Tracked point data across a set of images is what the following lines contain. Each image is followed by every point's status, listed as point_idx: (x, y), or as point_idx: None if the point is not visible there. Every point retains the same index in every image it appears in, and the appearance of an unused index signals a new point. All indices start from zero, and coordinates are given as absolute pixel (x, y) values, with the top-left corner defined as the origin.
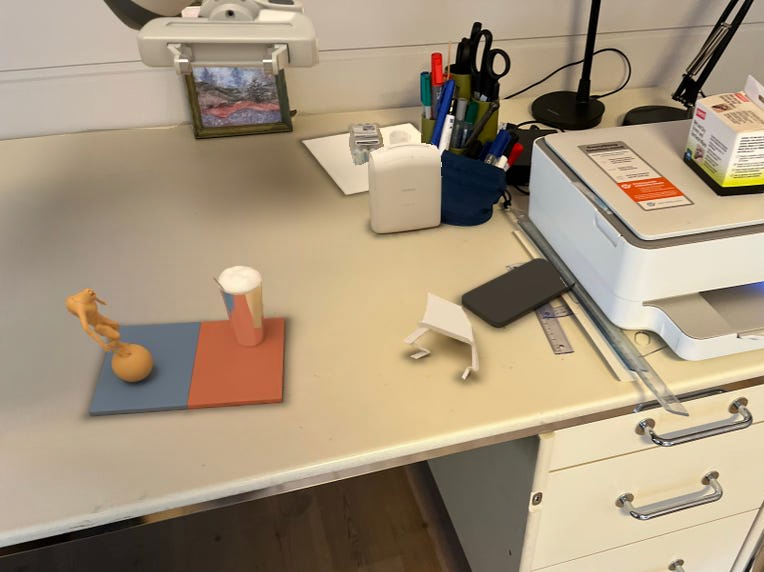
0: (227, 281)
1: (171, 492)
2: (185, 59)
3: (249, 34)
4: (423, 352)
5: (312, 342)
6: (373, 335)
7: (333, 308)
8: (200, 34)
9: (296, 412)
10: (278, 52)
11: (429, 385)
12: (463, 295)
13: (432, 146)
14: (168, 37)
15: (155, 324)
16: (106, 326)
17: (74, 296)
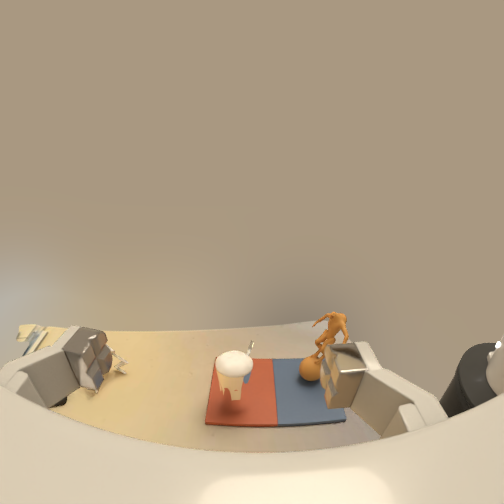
0: (243, 354)
1: (270, 326)
2: (335, 345)
3: (54, 438)
4: (118, 368)
5: (187, 399)
6: (140, 396)
7: (160, 430)
8: (343, 470)
9: (208, 353)
10: (40, 350)
11: (128, 354)
12: (61, 400)
13: None
14: (463, 414)
15: (315, 421)
16: (323, 335)
17: (340, 314)
